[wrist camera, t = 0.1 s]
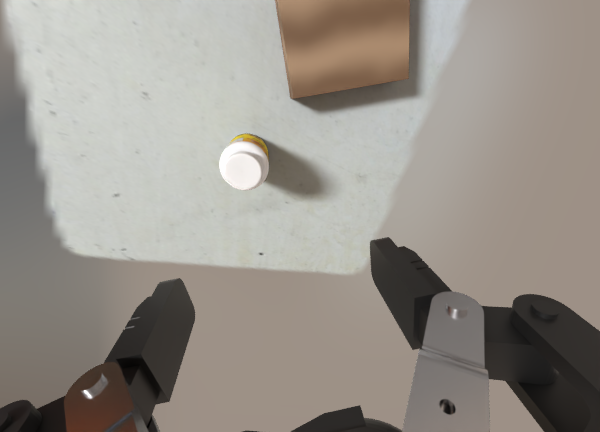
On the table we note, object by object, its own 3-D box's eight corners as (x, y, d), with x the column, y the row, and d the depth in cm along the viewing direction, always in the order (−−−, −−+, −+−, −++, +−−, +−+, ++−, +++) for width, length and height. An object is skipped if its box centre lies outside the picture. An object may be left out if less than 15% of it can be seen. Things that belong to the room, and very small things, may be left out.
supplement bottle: (275, 162, 38) (278, 184, 29) (240, 178, 39) (232, 205, 30) (257, 125, 36) (254, 136, 27) (220, 142, 36) (204, 159, 27)
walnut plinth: (268, -41, 29) (269, -60, 26) (393, -60, 30) (411, -82, 26) (290, 98, 35) (293, 98, 31) (394, 80, 36) (408, 78, 32)
